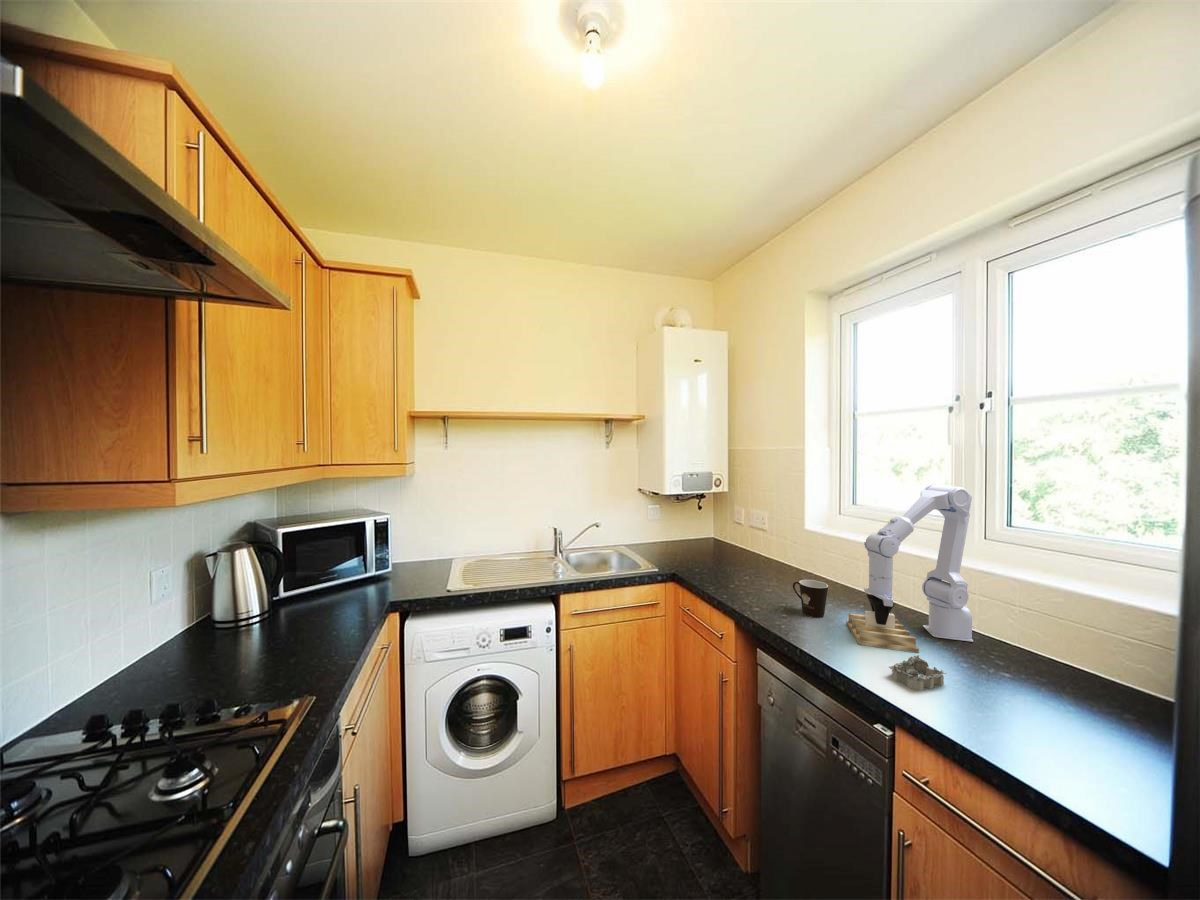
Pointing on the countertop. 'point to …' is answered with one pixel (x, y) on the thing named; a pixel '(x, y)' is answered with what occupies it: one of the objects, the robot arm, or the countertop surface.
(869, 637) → the dish rack
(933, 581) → the robot arm
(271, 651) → the countertop surface
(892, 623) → the white block
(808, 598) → the coffee mug
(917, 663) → the ruined castle model
